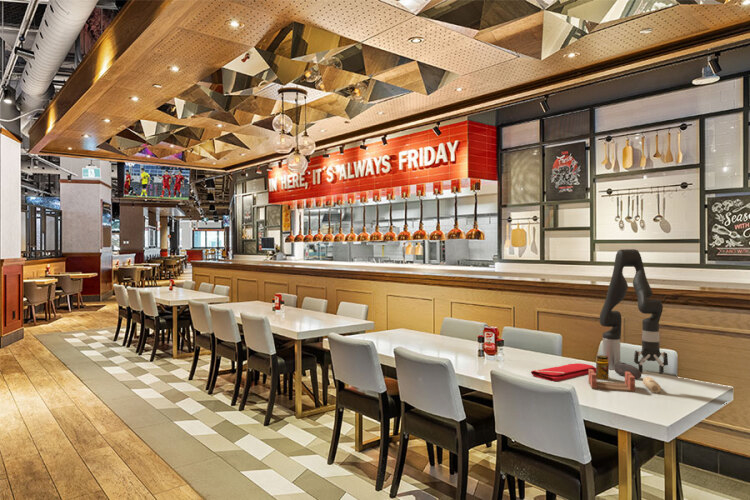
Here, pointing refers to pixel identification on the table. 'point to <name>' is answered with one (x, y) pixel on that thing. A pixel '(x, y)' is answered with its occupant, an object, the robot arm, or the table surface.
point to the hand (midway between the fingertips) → (650, 373)
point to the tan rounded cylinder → (651, 385)
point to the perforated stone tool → (627, 369)
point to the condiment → (602, 368)
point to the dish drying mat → (563, 372)
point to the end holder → (612, 383)
